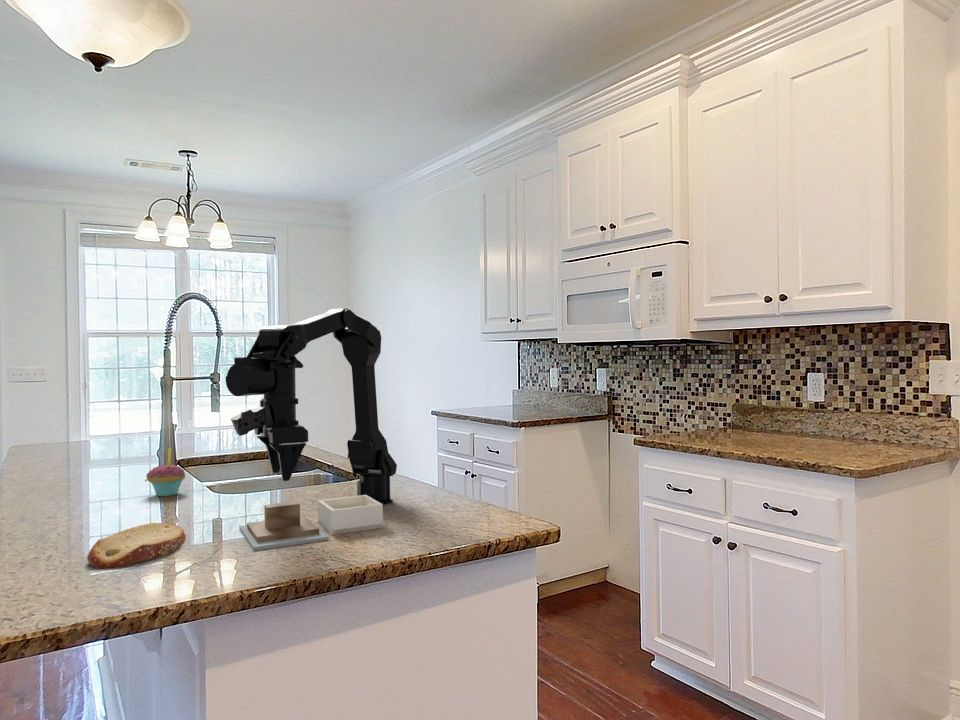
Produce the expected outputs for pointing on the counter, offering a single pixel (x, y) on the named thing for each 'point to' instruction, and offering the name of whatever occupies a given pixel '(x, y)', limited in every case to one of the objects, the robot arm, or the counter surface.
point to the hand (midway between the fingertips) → (280, 476)
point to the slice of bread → (136, 545)
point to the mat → (281, 540)
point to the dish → (350, 514)
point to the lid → (282, 523)
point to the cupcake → (166, 478)
